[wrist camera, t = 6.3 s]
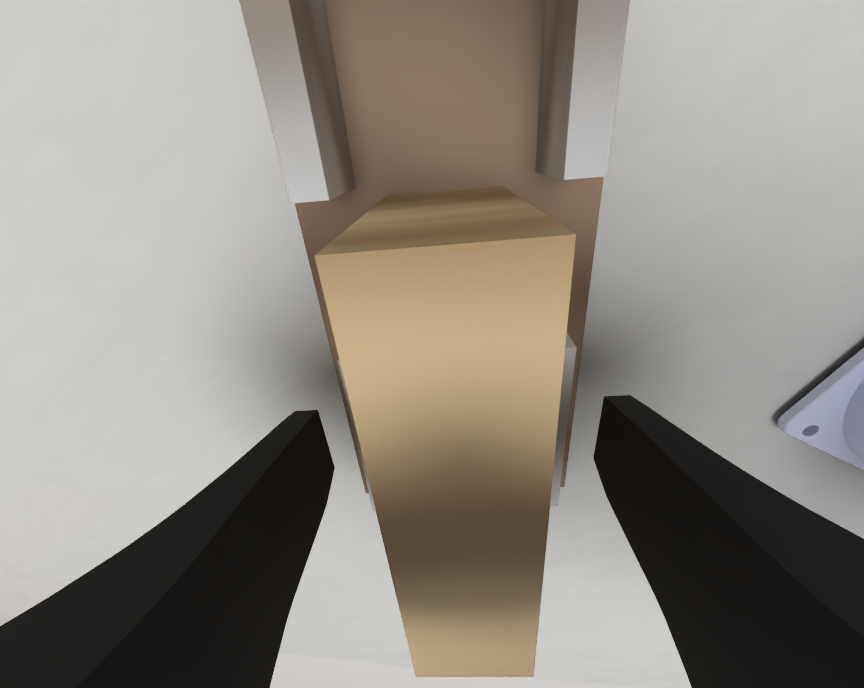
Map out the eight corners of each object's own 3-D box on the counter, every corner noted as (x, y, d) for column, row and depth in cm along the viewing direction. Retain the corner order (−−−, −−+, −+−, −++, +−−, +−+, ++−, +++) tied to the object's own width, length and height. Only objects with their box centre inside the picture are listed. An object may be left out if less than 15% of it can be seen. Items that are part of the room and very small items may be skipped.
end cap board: (557, 467, 15) (585, 547, 12) (370, 474, 16) (352, 552, 13) (628, -178, 7) (768, -424, 4) (234, -119, 8) (93, -297, 5)
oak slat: (501, 484, 15) (533, 676, 9) (426, 487, 15) (416, 676, 9) (501, 185, 9) (576, 234, 4) (386, 195, 10) (315, 255, 4)
